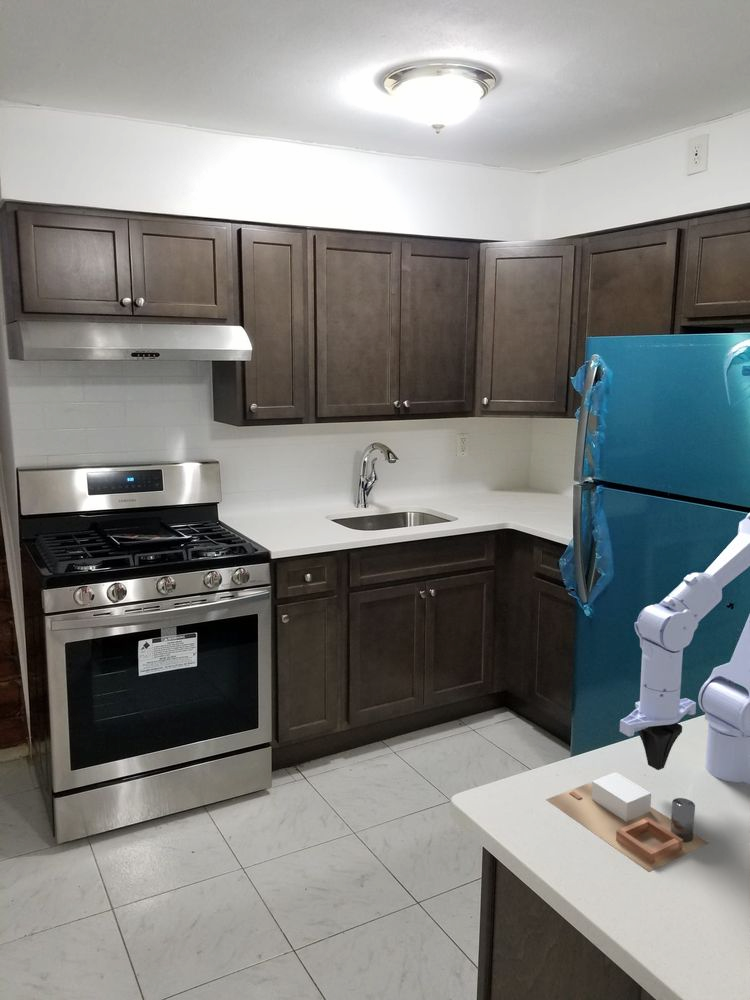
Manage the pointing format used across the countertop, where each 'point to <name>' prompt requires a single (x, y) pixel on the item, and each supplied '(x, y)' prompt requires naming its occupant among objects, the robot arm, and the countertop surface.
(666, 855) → the board
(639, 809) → the plain white cuboid
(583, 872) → the countertop surface
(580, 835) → the countertop surface
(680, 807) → the grey metal cylinder
